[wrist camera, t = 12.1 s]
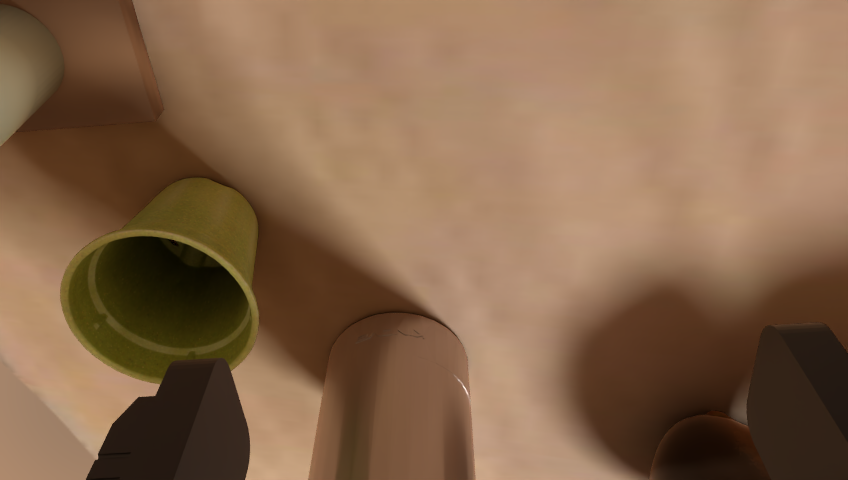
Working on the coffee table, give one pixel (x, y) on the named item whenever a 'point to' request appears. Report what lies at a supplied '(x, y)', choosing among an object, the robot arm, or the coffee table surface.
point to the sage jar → (25, 68)
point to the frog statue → (708, 451)
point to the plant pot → (168, 283)
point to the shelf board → (95, 65)
